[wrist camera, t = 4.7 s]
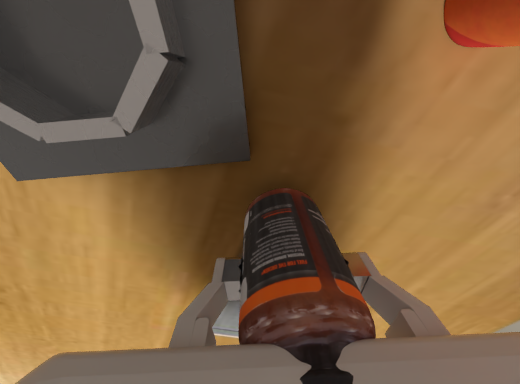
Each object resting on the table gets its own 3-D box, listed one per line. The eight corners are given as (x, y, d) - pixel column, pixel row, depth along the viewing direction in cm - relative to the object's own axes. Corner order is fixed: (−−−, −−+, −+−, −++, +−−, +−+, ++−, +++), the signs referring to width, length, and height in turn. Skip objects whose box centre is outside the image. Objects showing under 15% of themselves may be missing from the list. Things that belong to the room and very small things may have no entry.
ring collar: (250, 155, 15) (250, 175, 12) (30, 174, 14) (-26, 200, 11) (194, -385, 6) (133, -909, 3) (-393, -350, 5) (-1172, -868, 2)
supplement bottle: (230, 220, 16) (190, 456, 6) (278, 169, 13) (347, 415, 4) (282, 251, 18) (317, 463, 8) (332, 211, 15) (467, 439, 6)
